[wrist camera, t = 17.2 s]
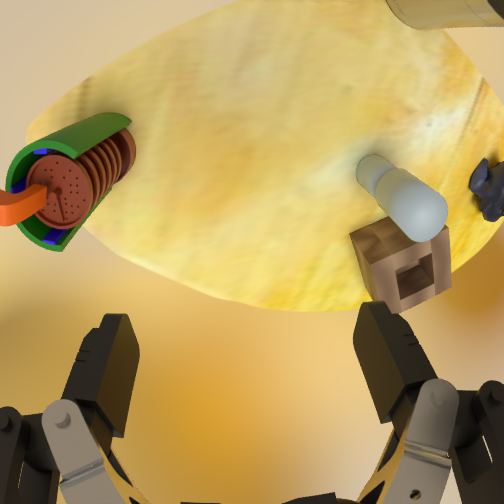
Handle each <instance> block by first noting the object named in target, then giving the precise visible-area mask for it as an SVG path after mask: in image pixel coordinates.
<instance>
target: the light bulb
mask: <svg viewBox="0 0 504 504" xmlns="http://www.w3.org/2000/svg"><path fill="white" fill-rule="evenodd" d="M356 177H357V180H358V182H359V183H360V184H361V185H362V186H363V187H364V188H365V189H366V190H367V191H368V192H369V193H370V194H371V195H372V196H373V197H374V198H375V199H376V201H377V203H378V205H379V206H380V207H381V208H382V209H383V210H384V212H385V213H386V214H387V215H388V216H389V217H390V218H391V219H392V220H393V221H394V222H395V223H396V224H397V225H398V226H399V227H400V228H401V229H402V231H403V232H404V233H405V234H406V235H407V236H408V237H409V238H410V239H411V240H413V241H416V242H425V241H428V240H430V239H432V238H434V237H435V236H436V235H437V234H438V233H439V232H440V231H441V230H442V228H443V227H444V225H445V223H446V220H447V216H448V206H447V202H446V200H445V199H444V197H443V196H442V195H440V194H439V193H438V192H436V191H435V190H434V189H432V188H431V187H429V186H428V185H427V184H425V183H424V182H422V181H421V180H419V179H418V178H417V177H415V176H414V175H412V174H411V173H409V172H408V171H406V170H404V169H399V168H397V167H396V166H394V165H393V164H391V163H390V162H388V161H387V160H385V159H384V158H382V157H380V156H378V155H368V156H366V157H364V158H363V159H362V160H361V161H360V162H359V164H358V166H357V169H356Z"/></svg>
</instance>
